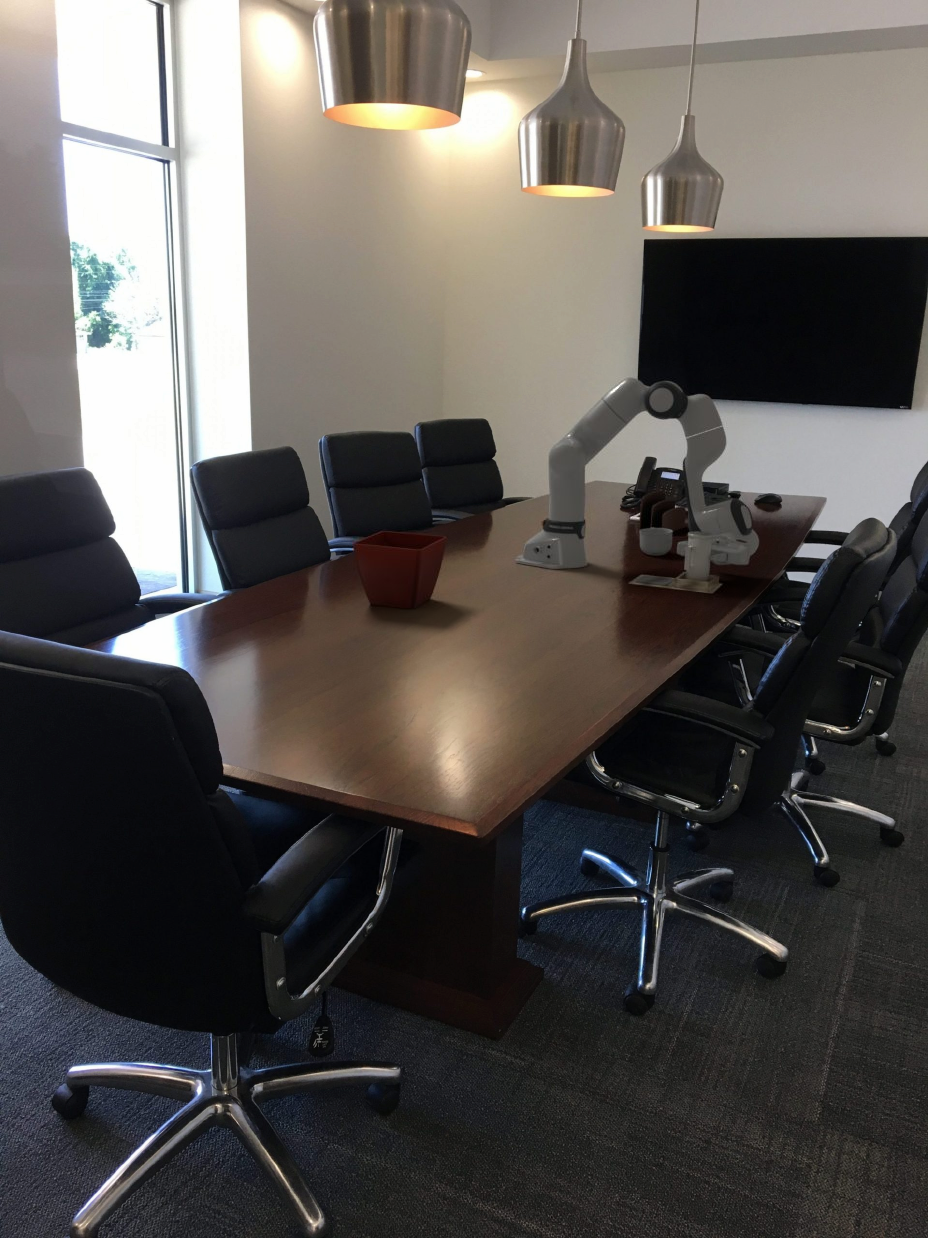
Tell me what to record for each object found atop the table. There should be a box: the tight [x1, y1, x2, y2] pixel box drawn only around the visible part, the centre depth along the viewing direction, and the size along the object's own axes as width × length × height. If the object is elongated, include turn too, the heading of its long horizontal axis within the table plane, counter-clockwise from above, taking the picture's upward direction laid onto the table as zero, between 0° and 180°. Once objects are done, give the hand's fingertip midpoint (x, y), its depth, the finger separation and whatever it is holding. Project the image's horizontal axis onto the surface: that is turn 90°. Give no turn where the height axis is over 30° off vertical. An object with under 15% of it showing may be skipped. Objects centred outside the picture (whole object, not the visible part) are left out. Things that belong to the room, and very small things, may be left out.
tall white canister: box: [683, 531, 713, 582], centre depth 280 cm, size 10×7×15 cm
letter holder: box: [638, 490, 686, 532], centre depth 376 cm, size 10×20×14 cm, turn 144°
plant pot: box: [352, 530, 447, 610], centre depth 263 cm, size 19×19×17 cm
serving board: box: [628, 571, 723, 594], centre depth 286 cm, size 24×13×4 cm, turn 64°
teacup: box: [638, 528, 674, 556], centre depth 333 cm, size 14×11×8 cm
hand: (697, 555), depth 281 cm, fingers open, 8 cm apart
